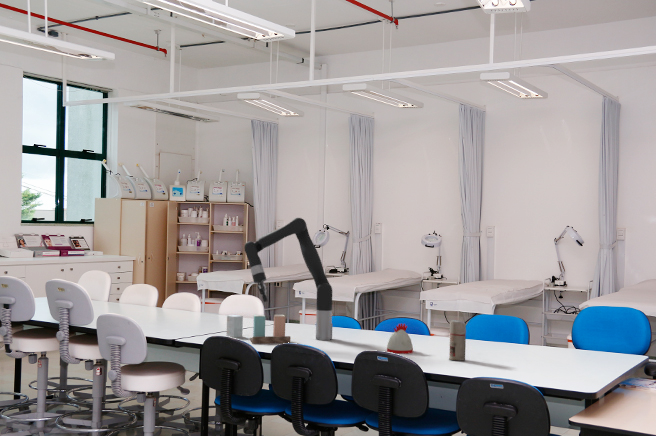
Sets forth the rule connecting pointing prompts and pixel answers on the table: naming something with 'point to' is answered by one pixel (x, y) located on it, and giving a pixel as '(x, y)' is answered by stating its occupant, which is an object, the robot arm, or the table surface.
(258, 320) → the teal rectangular block
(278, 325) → the salmon pink rectangular block
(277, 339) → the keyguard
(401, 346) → the grey and red dome
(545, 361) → the table surface
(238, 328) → the small box
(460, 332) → the spray can
